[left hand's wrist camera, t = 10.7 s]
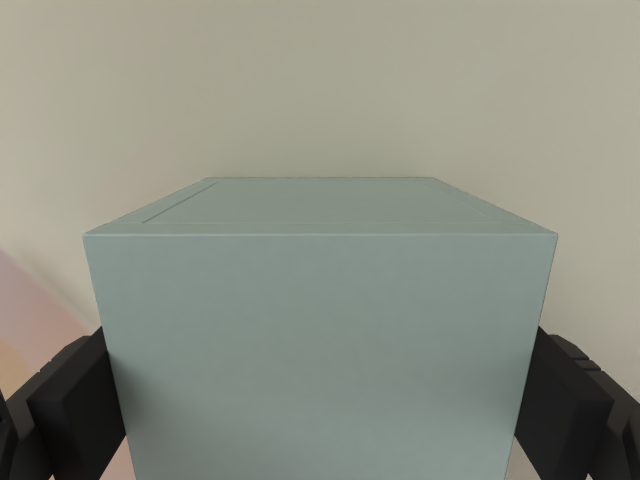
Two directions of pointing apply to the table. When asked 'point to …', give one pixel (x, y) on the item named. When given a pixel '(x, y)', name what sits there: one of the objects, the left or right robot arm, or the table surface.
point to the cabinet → (320, 329)
